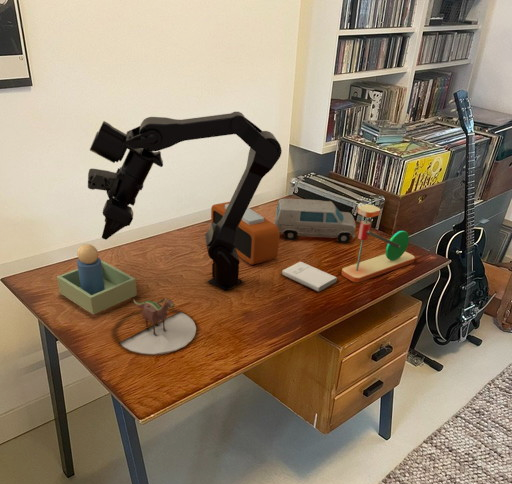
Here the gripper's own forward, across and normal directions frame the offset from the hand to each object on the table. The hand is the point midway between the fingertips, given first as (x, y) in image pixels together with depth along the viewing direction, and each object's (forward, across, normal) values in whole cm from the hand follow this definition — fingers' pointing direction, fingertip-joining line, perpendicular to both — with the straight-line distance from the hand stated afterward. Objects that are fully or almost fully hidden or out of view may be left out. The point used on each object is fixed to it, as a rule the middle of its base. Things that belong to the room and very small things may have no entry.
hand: (105, 230), depth 124 cm
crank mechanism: (-22, -6, +72) cm, 75 cm away
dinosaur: (+8, +20, +17) cm, 28 cm away
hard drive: (-12, -1, +53) cm, 54 cm away
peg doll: (+14, +5, +4) cm, 16 cm away
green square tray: (+15, +5, +5) cm, 16 cm away
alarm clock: (-4, -21, +39) cm, 45 cm away
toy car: (-16, -29, +60) cm, 68 cm away
